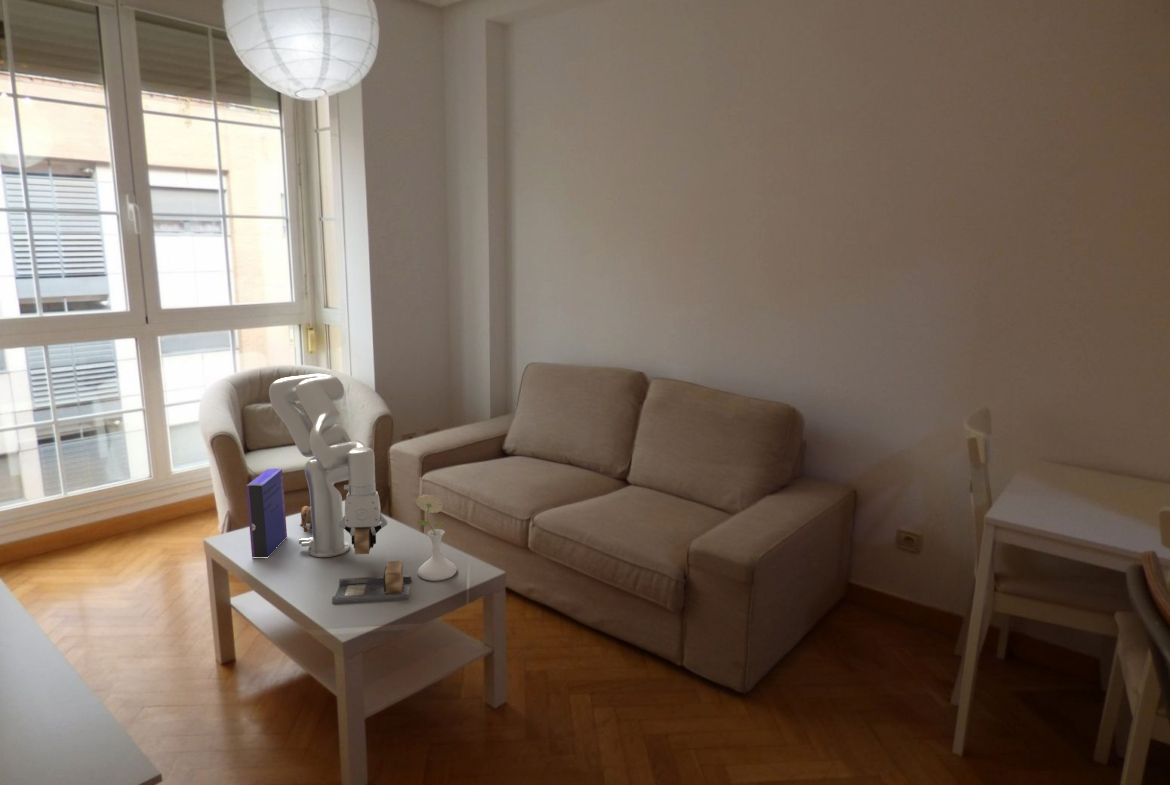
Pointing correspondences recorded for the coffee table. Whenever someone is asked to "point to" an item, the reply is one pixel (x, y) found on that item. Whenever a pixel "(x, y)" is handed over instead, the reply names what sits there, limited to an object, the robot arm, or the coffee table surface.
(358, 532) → the block
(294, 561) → the coffee table surface
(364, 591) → the gray tray
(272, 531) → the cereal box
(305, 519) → the lion figurine
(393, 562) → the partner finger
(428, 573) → the flower in vase
